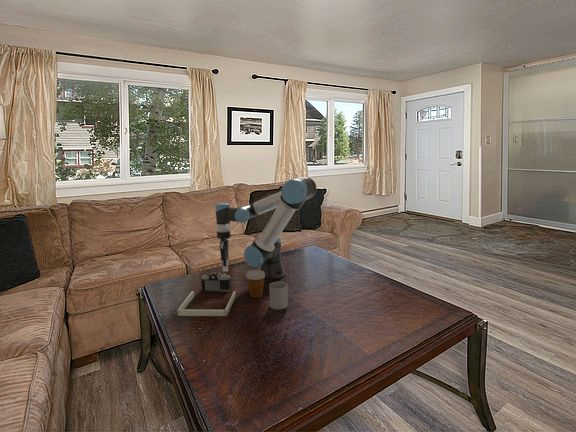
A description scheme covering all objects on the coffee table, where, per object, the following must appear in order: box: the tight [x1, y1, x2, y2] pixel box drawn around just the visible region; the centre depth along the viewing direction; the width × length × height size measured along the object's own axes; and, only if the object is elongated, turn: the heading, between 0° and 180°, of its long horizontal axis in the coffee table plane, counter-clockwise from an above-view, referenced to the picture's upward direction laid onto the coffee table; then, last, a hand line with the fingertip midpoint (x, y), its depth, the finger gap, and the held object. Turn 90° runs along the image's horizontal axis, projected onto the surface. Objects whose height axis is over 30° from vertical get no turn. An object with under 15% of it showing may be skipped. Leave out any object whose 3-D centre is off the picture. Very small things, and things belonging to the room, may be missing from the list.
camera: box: [201, 270, 232, 292], centre depth 183 cm, size 16×9×10 cm, turn 83°
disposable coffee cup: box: [245, 269, 265, 299], centre depth 173 cm, size 10×10×12 cm
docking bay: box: [176, 290, 237, 317], centre depth 164 cm, size 22×21×2 cm
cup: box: [268, 281, 289, 310], centre depth 162 cm, size 8×8×10 cm
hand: (225, 270), depth 200 cm, fingers closed
